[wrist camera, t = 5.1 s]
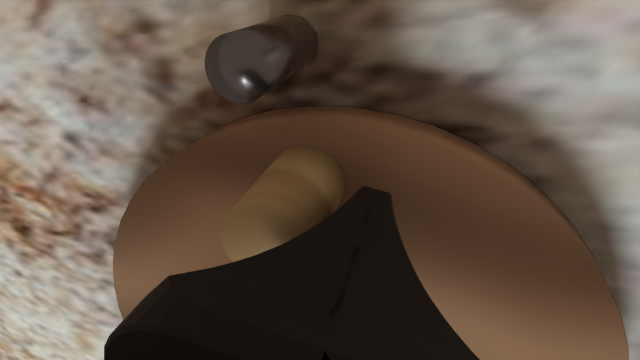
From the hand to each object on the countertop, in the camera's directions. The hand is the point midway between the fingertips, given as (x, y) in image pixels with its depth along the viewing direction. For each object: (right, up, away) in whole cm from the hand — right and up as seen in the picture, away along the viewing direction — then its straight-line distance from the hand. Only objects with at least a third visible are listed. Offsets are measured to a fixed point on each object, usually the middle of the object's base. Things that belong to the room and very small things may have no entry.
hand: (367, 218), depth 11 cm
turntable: (0, -5, +6) cm, 8 cm away
